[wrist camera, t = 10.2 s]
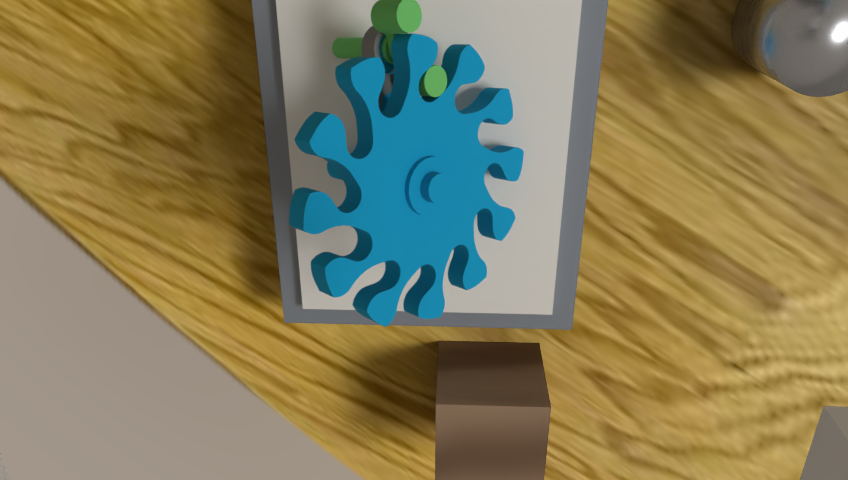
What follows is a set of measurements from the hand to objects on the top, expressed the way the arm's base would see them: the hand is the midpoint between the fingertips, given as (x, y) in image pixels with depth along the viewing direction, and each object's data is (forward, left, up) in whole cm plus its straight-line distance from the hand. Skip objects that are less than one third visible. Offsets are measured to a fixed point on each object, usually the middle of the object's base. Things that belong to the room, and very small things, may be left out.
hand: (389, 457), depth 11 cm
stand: (0, 0, -21) cm, 21 cm away
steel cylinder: (-4, +14, -21) cm, 25 cm away
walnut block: (+14, +3, -21) cm, 25 cm away
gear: (0, 0, -18) cm, 18 cm away
